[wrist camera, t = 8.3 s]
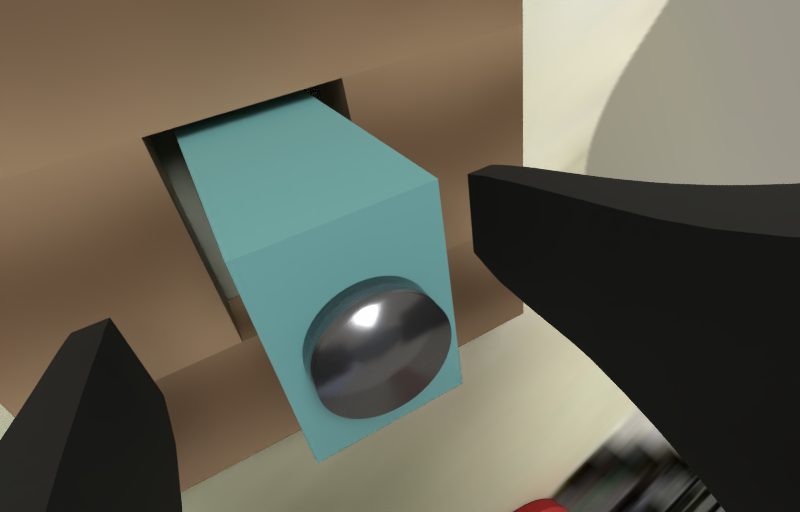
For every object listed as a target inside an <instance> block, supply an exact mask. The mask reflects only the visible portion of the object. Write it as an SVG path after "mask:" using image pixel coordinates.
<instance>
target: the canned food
mask: <svg viewBox="0 0 800 512" xmlns="http://www.w3.org/2000/svg"><path fill="white" fill-rule="evenodd" d="M514 512H569V511H568V510H567V509H566V508H564V507H563V506H561V505H560V504H559V503H557V502H556V501H554V500H552V499H540V500H536V501H533V502H531V503H528V504H526V505H524V506H522V507H521V508H519V509H517V510H516V511H514Z"/></svg>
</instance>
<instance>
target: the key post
mask: <svg viewBox="0 0 800 512" xmlns="http://www.w3.org/2000/svg"><path fill="white" fill-rule="evenodd" d="M173 130H174V132H175V135H176V138H177V140H178V143H179V145H180V148H181V151H182V153H183V156H184V158H185V161H186V164H187V166H188V169H189V171H190V174H191V176H192V179H193V182H194V184H195V187H196V189H197V192H198V195H199V197H200V200H201V202H202V205H203V208H204V210H205V213H206V215H207V218H208V220H209V223H210V226H211V228H212V231H213V233H214V236H215V239H216V241H217V244H218V246H219V249H220V252H221V254H222V257H223V259H224V262H225V264H226V266H227V269H228V271H229V273H230V275H231V277H232V279H233V281H234V284H235V286H236V288H237V290H238V292H239V294H240V297H241V299H242V301H243V303H244V305H245V307H246V310H247V312H248V314H249V316H250V318H251V320H252V323H253V325H254V327H255V329H256V331H257V333H258V336H259V338H260V340H261V342H262V344H263V346H264V349H265V351H266V353H267V355H268V357H269V359H270V362H271V364H272V366H273V368H274V370H275V372H276V375H277V377H278V379H279V381H280V383H281V385H282V387H283V390H284V392H285V394H286V396H287V398H288V400H289V403H290V405H291V407H292V409H293V411H294V413H295V416H296V418H297V420H298V422H299V424H300V426H301V429H302V431H303V433H304V435H305V437H306V439H307V442H308V444H309V446H310V448H311V450H312V452H313V455H314V457H315V459H316V461H317V463H319V462H321V461H323V460H324V459H326V458H328V457H330V456H332V455H333V454H335V453H337V452H339V451H341V450H342V449H344V448H346V447H348V446H350V445H352V444H353V443H355V442H357V441H359V440H361V439H362V438H364V437H366V436H368V435H370V434H371V433H373V432H375V431H377V430H379V429H380V428H382V427H384V426H386V425H388V424H390V423H391V422H393V421H395V420H397V419H399V418H400V417H402V416H404V415H406V414H408V413H409V412H411V411H413V410H415V409H417V408H418V407H420V406H422V405H424V404H426V403H428V402H429V401H431V400H433V399H435V398H437V397H438V396H440V395H442V394H444V393H446V392H447V391H449V390H451V389H453V388H455V387H456V386H458V385H460V384H462V377H461V369H460V360H459V352H458V343H457V335H456V326H455V318H454V310H453V301H452V293H451V284H450V276H449V268H448V259H447V251H446V242H445V234H444V225H443V217H442V209H441V200H440V192H439V183H438V178H436V177H435V176H433V175H432V174H430V173H428V172H427V171H425V170H424V169H422V168H421V167H419V166H418V165H416V164H415V163H413V162H412V161H410V160H409V159H407V158H406V157H404V156H403V155H401V154H400V153H398V152H397V151H395V150H394V149H392V148H391V147H389V146H387V145H386V144H384V143H383V142H381V141H380V140H378V139H377V138H375V137H374V136H372V135H371V134H369V133H368V132H366V131H365V130H363V129H362V128H360V127H359V126H357V125H356V124H354V123H353V122H351V121H350V120H348V119H346V118H345V117H343V116H342V115H340V114H339V113H337V112H336V111H334V110H333V109H331V108H330V107H328V106H327V105H325V104H324V103H322V102H321V101H319V100H318V99H316V98H315V97H313V96H312V95H310V94H309V93H307V92H305V91H304V90H299V91H296V92H293V93H289V94H286V95H283V96H279V97H276V98H272V99H269V100H266V101H262V102H259V103H256V104H252V105H249V106H246V107H242V108H239V109H236V110H232V111H229V112H226V113H222V114H219V115H215V116H212V117H209V118H205V119H202V120H199V121H195V122H192V123H189V124H185V125H182V126H179V127H175V128H173Z"/></svg>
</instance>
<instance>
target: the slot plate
mask: <svg viewBox="0 0 800 512" xmlns="http://www.w3.org/2000/svg"><path fill="white" fill-rule="evenodd" d="M316 85H318V88H319V92H320V96H321V100H322V103H324V104H325V105H327V106H328V107H330V108H331V109H333V110H334V111H336V112H337V113H339V114H340V115H342V116H343V117H345V118H346V119H348V120H350V121H351V122H353V123H354V124H356V125H357V126H359V127H360V128H362V129H363V130H365V131H366V132H368V133H369V134H371V135H372V136H374V137H375V138H377V139H378V140H380V141H381V142H383V143H384V144H386V145H387V146H389V147H391V148H392V149H394V150H395V151H397V152H398V153H400V154H401V155H403V156H404V157H406V158H407V159H409V160H410V161H412V162H413V163H415V164H416V165H418V166H419V167H421V168H422V169H424V170H425V171H427V172H428V173H430V174H432V175H433V176H435V177H436V178H438V183H439V192H440V200H441V209H442V217H443V225H444V234H445V242H446V251H447V259H448V268H449V276H450V284H451V293H452V301H453V310H454V318H455V326H456V335H457V343H458V347H460V346H461V345H463V344H465V343H467V342H469V341H471V340H473V339H475V338H477V337H479V336H481V335H482V334H484V333H486V332H488V331H490V330H492V329H494V328H496V327H498V326H500V325H502V324H503V323H505V322H507V321H509V320H511V319H513V318H515V317H517V316H519V315H521V314H523V301H522V300H520V299H519V298H518V297H517V296H516V295H514V294H513V293H512V292H511V291H510V290H509V289H507V288H506V287H505V286H504V285H503V284H502V283H501V282H500V281H499V280H498V279H497V278H496V277H495V276H494V275H493V274H492V273H491V272H490V271H489V269H488V268H487V267H486V266H485V265H484V264H483V262H482V261H481V260H480V259H479V258H478V257H477V255H476V254H475V253H474V251H473V238H472V226H471V213H470V201H469V188H468V175H467V174H469V173H471V172H474V171H476V170H479V169H481V168H484V167H486V166H489V165H511V166H521V167H523V8H522V0H0V404H1V405H2V406H3V407H5V408H6V409H7V410H8V411H9V412H10V413H11V414H12V415H13V416H14V417H16V416H17V414H18V413H19V411H20V409H21V408H22V406H23V405H24V403H25V402H26V400H27V399H28V397H29V396H30V394H31V393H32V391H33V390H34V388H35V386H36V385H37V383H38V382H39V380H40V378H41V377H42V375H43V374H44V372H45V371H46V369H47V367H48V366H49V364H50V363H51V361H52V360H53V358H54V356H55V355H56V353H57V352H58V350H59V349H60V347H61V346H62V344H63V343H64V341H65V340H66V339H67V337H68V336H69V335H70V333H72V332H74V331H77V330H79V329H82V328H84V327H87V326H89V325H92V324H94V323H97V322H99V321H102V320H104V319H107V318H109V317H110V318H111V320H112V321H113V322H114V324H115V325H116V327H117V328H118V330H119V331H120V333H121V334H122V335H123V337H124V338H125V340H126V341H127V343H128V344H129V346H130V347H131V348H132V350H133V351H134V353H135V354H136V356H137V357H138V358H139V360H140V361H141V363H142V364H143V366H144V367H145V369H146V370H147V371H148V373H149V374H150V376H151V377H152V379H153V380H154V382H155V383H156V384H157V386H158V387H159V389H160V390H161V392H162V393H163V395H164V398H165V402H166V405H167V409H168V413H169V417H170V421H171V425H172V430H173V434H174V438H175V443H176V450H177V460H178V470H179V480H180V491H181V492H183V491H184V490H186V489H188V488H190V487H192V486H194V485H196V484H198V483H200V482H202V481H204V480H206V479H207V478H209V477H211V476H213V475H215V474H217V473H219V472H221V471H223V470H225V469H227V468H228V467H230V466H232V465H234V464H236V463H238V462H240V461H242V460H244V459H246V458H248V457H249V456H251V455H253V454H255V453H257V452H259V451H261V450H263V449H265V448H267V447H269V446H270V445H272V444H274V443H276V442H278V441H280V440H282V439H284V438H286V437H288V436H290V435H291V434H293V433H295V432H297V431H299V430H301V426H300V424H299V422H298V420H297V418H296V416H295V413H294V411H293V409H292V407H291V405H290V403H289V400H288V398H287V396H286V394H285V392H284V390H283V387H282V385H281V383H280V381H279V379H278V377H277V375H276V372H275V370H274V368H273V366H272V364H271V362H270V359H269V357H268V355H267V353H266V351H265V349H264V346H263V344H262V342H261V340H260V338H259V336H258V333H257V331H256V329H255V327H254V325H253V323H252V320H251V318H250V316H249V314H248V312H247V310H246V307H245V305H244V303H243V301H242V299H241V297H240V295H239V296H237V297H235V298H232V299H230V300H227V298H226V296H225V294H224V292H223V290H222V288H221V286H220V284H219V282H218V280H217V278H216V276H215V274H214V272H213V269H212V267H211V265H210V263H209V261H208V259H207V257H206V255H205V253H204V251H203V249H202V247H201V245H200V243H199V241H198V238H197V236H196V234H195V232H194V230H193V228H192V226H191V224H190V222H189V220H188V218H187V216H186V214H185V212H184V210H183V208H182V205H181V203H180V201H179V199H178V197H177V195H176V193H175V191H174V189H173V187H172V185H171V183H170V181H169V179H168V177H167V174H166V172H165V170H164V168H163V166H162V164H161V162H160V160H159V158H158V156H157V154H156V152H155V150H154V148H153V146H152V144H151V141H150V139H149V137H148V135H152V134H155V133H158V132H162V131H165V130H169V129H172V128H175V127H179V126H182V125H185V124H189V123H192V122H195V121H199V120H202V119H205V118H209V117H212V116H215V115H219V114H222V113H226V112H229V111H232V110H236V109H239V108H242V107H246V106H249V105H252V104H256V103H259V102H262V101H266V100H269V99H272V98H276V97H279V96H283V95H286V94H289V93H293V92H296V91H299V90H303V89H306V88H309V87H313V86H316Z"/></svg>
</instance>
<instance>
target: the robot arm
mask: <svg viewBox="0 0 800 512" xmlns="http://www.w3.org/2000/svg"><path fill="white" fill-rule="evenodd" d="M467 175H468V188H469V201H470V213H471V226H472V238H473V251H474V253H475V254H476V255H477V257H478V258H479V259H480V260H481V261H482V262H483V264H484V265H485V266H486V267H487V268H488V269H489V271H490V272H491V273H492V274H493V275H494V276H495V277H496V278H497V279H498V280H499V281H500V282H501V283H502V284H503V285H504V286H505V287H506V288H507V289H509V290H510V291H511V292H512V293H513V294H514V295H516V296H517V297H518V298H519V299H520V300H522V301H523V302H524V303H525V304H526V305H528V306H529V307H530V308H531V309H532V310H534V311H535V312H536V313H537V314H538V315H540V316H541V317H542V318H543V319H544V320H546V321H547V322H548V323H549V324H551V325H552V326H553V327H554V328H555V329H557V330H558V331H559V332H560V333H561V334H563V335H564V336H565V337H566V338H568V339H569V340H570V341H571V342H572V343H574V344H575V345H576V346H577V347H578V348H579V349H580V350H581V351H583V352H584V353H585V354H586V355H587V356H588V357H589V358H590V359H591V360H592V361H594V363H595V364H596V365H597V366H598V367H599V368H600V369H601V370H602V371H603V372H604V373H605V374H606V375H607V376H608V377H609V378H610V379H611V380H612V381H613V382H614V383H615V384H616V385H617V386H618V387H619V388H620V389H621V390H622V391H623V392H624V393H625V394H626V395H627V396H628V398H629V399H630V400H631V401H632V402H633V403H634V404H635V405H636V406H637V407H638V408H639V410H640V411H641V412H642V413H643V414H644V415H645V416H646V417H647V418H648V419H649V420H650V422H651V423H652V424H653V425H654V426H655V427H656V428H657V429H658V430H659V431H660V433H661V434H662V435H663V436H664V437H665V438H666V440H667V441H668V442H669V443H670V444H671V446H672V447H673V448H674V449H675V450H676V451H677V453H678V454H679V455H680V456H681V457H682V458H683V460H684V461H685V462H686V463H687V464H688V465H689V467H690V468H691V469H692V470H693V471H694V472H695V474H696V475H697V476H698V477H699V479H700V480H701V481H702V482H703V484H704V485H705V486H706V487H707V489H708V490H709V491H710V492H711V494H712V495H713V496H714V497H715V499H716V500H717V501H718V503H719V504H720V505H721V506H722V508H723V509H724V510H725V511H726V512H800V183H798V184H772V185H692V184H669V183H654V182H642V181H632V180H622V179H613V178H604V177H595V176H588V175H581V174H574V173H566V172H559V171H552V170H545V169H537V168H530V167H521V166H511V165H489V166H486V167H484V168H481V169H479V170H476V171H474V172H471V173H469V174H467ZM0 512H182V502H181V491H180V480H179V470H178V460H177V450H176V443H175V438H174V434H173V430H172V425H171V421H170V417H169V413H168V409H167V405H166V402H165V398H164V395H163V393H162V392H161V390H160V389H159V387H158V386H157V384H156V383H155V382H154V380H153V379H152V377H151V376H150V374H149V373H148V371H147V370H146V369H145V367H144V366H143V364H142V363H141V361H140V360H139V358H138V357H137V356H136V354H135V353H134V351H133V350H132V348H131V347H130V346H129V344H128V343H127V341H126V340H125V338H124V337H123V335H122V334H121V333H120V331H119V330H118V328H117V327H116V325H115V324H114V322H113V321H112V320H111V318H110V317H109V318H107V319H104V320H102V321H99V322H97V323H94V324H92V325H89V326H87V327H84V328H82V329H79V330H77V331H74V332H72V333H70V335H69V336H68V337H67V339H66V340H65V341H64V343H63V344H62V346H61V347H60V349H59V350H58V352H57V353H56V355H55V356H54V358H53V360H52V361H51V363H50V364H49V366H48V367H47V369H46V371H45V372H44V374H43V375H42V377H41V378H40V380H39V382H38V383H37V385H36V386H35V388H34V390H33V391H32V393H31V394H30V396H29V397H28V399H27V400H26V402H25V403H24V405H23V406H22V408H21V409H20V411H19V413H18V414H17V416H16V417H15V419H14V420H13V422H12V423H11V425H10V426H9V428H8V429H7V431H6V432H5V434H4V435H3V437H2V438H1V440H0Z"/></svg>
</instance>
